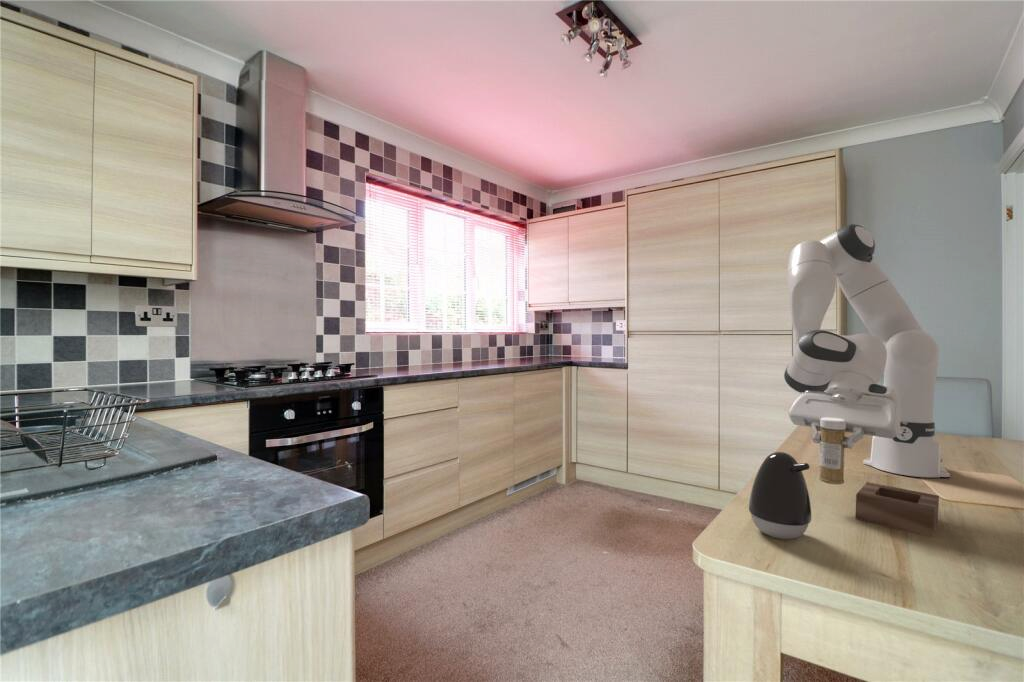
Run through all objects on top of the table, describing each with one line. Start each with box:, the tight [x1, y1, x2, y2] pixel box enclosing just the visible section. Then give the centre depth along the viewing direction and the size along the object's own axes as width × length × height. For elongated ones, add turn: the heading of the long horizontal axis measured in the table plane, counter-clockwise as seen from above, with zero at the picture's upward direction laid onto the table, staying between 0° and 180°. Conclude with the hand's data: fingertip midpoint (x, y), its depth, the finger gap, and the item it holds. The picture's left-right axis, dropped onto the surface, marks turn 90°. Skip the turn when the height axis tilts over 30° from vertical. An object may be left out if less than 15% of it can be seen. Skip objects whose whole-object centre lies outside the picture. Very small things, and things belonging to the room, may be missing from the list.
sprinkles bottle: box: [818, 417, 846, 486], centre depth 105 cm, size 5×5×13 cm
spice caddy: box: [854, 481, 940, 538], centre depth 100 cm, size 12×12×5 cm
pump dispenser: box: [748, 451, 812, 540], centre depth 91 cm, size 10×10×15 cm
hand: (831, 444), depth 104 cm, fingers closed on sprinkles bottle, 4 cm apart
